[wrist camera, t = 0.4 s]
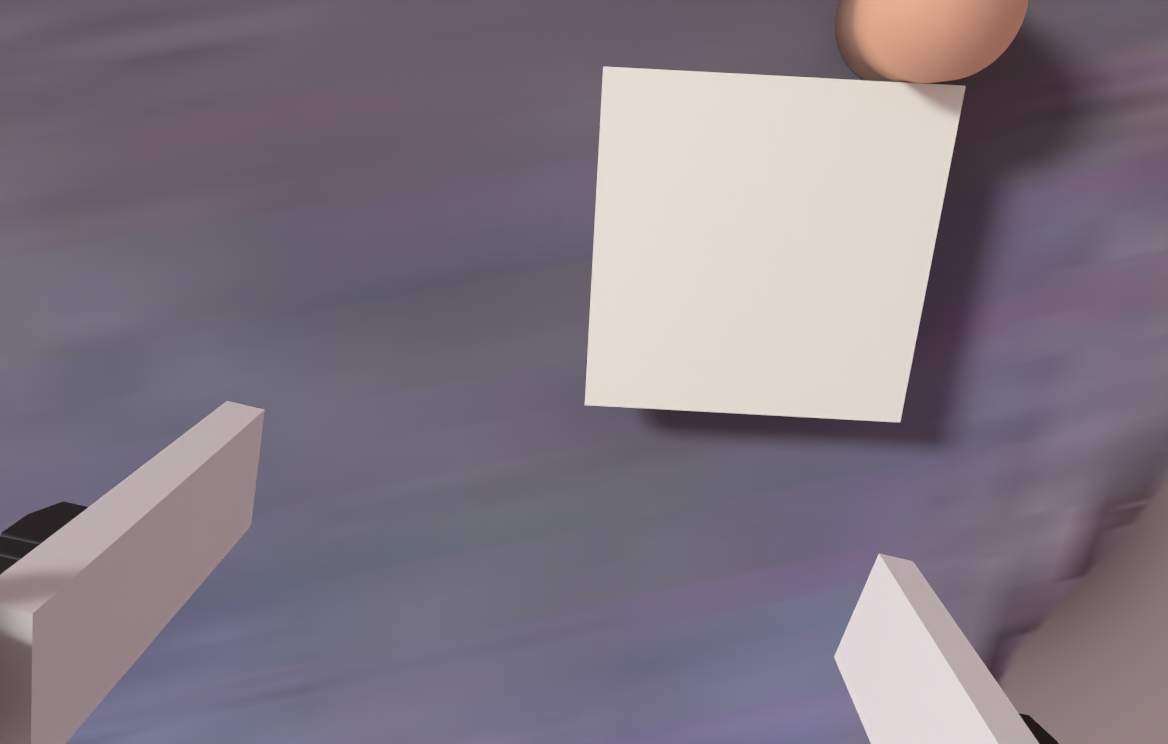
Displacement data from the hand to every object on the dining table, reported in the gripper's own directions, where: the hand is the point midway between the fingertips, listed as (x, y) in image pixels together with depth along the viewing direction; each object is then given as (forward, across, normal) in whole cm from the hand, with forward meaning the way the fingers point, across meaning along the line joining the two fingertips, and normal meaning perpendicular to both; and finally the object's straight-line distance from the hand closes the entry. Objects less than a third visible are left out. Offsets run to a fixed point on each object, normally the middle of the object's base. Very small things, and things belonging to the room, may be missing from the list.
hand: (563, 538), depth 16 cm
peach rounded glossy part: (+26, +11, +16) cm, 33 cm away
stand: (+26, +8, +4) cm, 28 cm away
